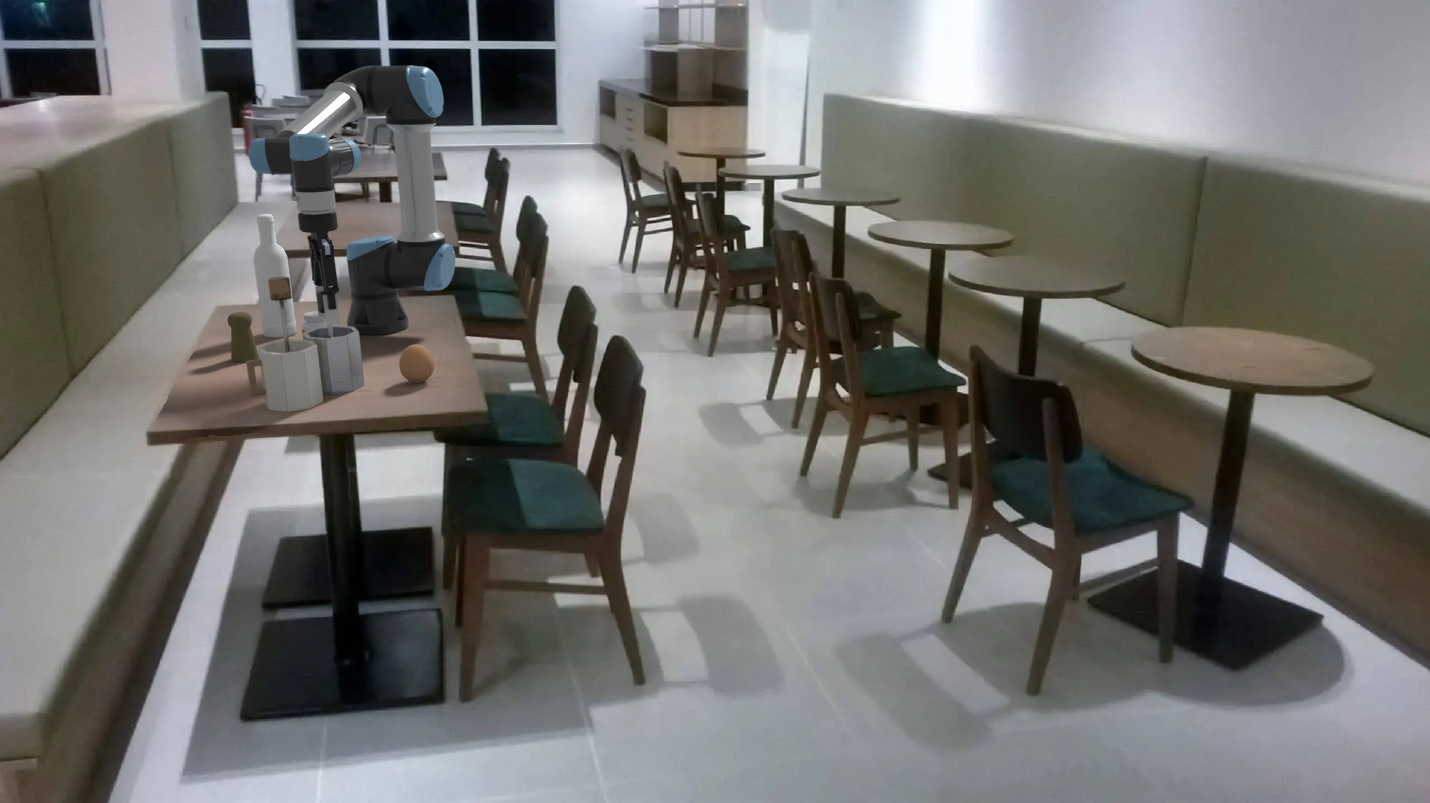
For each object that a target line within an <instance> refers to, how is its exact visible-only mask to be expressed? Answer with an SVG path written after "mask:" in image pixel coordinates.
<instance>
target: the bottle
mask: <svg viewBox="0 0 1430 803" xmlns="http://www.w3.org/2000/svg"><path fill="white" fill-rule="evenodd" d="M256 223H257V227H258V234H259V242H260V244H259V245H258V247H256V249H255V250H254V254H253V265H254V272H255V278H256V279H255V281H256V288H257V296H258V302H259V310H260V318H261V327H262V328H261V329H262V332H263V336H264V337H266V338H271V339H272V338H273V339H279V338H280V339H282V338H284V335H283V328H282V320H281V312H280V304H279V301H273V300H271V299H270V292H269V285H268V279H269V278H273V277H289V279H290V280H291V276H290V271H289V270H290V269H289V262H288V260H289V259H288V255H287V253H286V251H285V250H284V249H285V248H284V247H282V246H281V245H280V244H279V243H277V239H276V238H277V237H276V229H275V224H274V223H275V219H274V216H273V215H272V214H271V213H264V214H263V213H262V214H258V215H256ZM291 284H292V283H291V282H290V287H291V288H292V285H291ZM291 295H292V296H293V291H292V290H291ZM284 306H285V313H286V321H287V329H288V337H291V336H294V335H296V334H297V321H296V318H295V317H296V316H295V315H296V314H295V308H294V301H293V297H292V298H291V299H289V300H284Z"/></svg>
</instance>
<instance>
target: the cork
mask: <svg viewBox="0 0 1430 803" xmlns="http://www.w3.org/2000/svg"><path fill="white" fill-rule="evenodd" d="M226 321H227V324H228V326H229V327H230V328H231V331H230V335H231V336H230V338H231V339H230V341H231V343H230V348H231V349H230V351H231V352H230V355H231V356H230V357H231V358H230V360H231V362H233V363H246V361H248V360H255V359H259V354H258V347H257V344H256V342H255V338H254V334H253V330H252V328H251V326H252V323H253V317H252V316H251V314H250V313H249V312H245V311H240V312H239V311H238V312H233V313H230V314H229V315H228V317H227V320H226Z"/></svg>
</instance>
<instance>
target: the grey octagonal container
mask: <svg viewBox="0 0 1430 803" xmlns="http://www.w3.org/2000/svg"><path fill="white" fill-rule="evenodd" d="M332 328H333V338H329V332H328V327H320V328H314V329H312V330H309V331H307V332H304V333H302V340H312V341H313V342H314V343H315V344H316V345H317V351H318V359H319V368H320V376H321V384H322V393H323V395H336V394H344V393H351V392H354V391H356V390H358V389H361V388H362V387H364V386H365V378H364V368H363V359H362V358H363V357H362V349H361V348H362V347H361V340H360V339H361V338H360V334H359V331H358V330H357V329H356V328H355V327H349V326H347V325H332Z"/></svg>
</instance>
